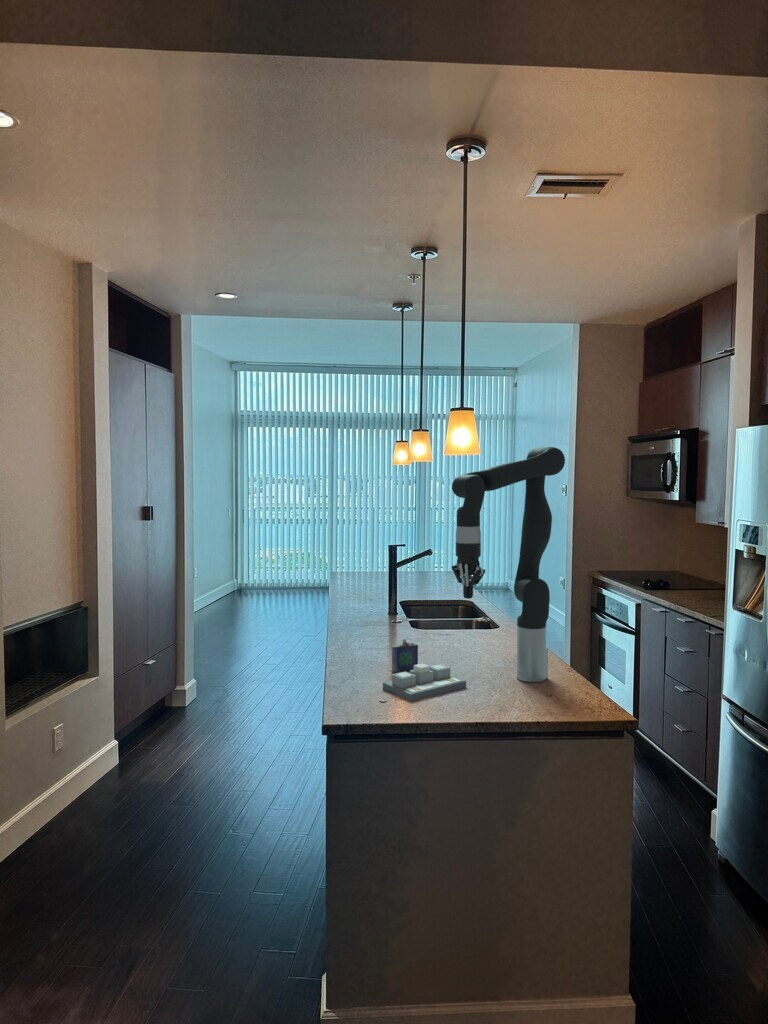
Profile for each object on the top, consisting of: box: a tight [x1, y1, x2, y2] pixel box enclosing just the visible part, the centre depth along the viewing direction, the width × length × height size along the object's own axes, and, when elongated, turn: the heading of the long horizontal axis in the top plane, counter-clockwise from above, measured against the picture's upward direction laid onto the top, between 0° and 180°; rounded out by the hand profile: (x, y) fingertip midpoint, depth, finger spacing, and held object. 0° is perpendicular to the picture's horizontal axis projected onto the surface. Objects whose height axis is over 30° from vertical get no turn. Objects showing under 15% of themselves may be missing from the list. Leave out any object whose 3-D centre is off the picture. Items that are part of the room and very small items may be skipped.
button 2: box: [430, 664, 448, 670], centre depth 214 cm, size 4×4×3 cm
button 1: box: [395, 672, 412, 678], centre depth 206 cm, size 4×4×3 cm
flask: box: [391, 639, 419, 674], centre depth 227 cm, size 9×3×11 cm, turn 109°
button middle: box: [414, 663, 431, 674], centre depth 210 cm, size 4×4×3 cm
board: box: [382, 663, 467, 702], centre depth 209 cm, size 22×14×5 cm, turn 126°
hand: (468, 598), depth 203 cm, fingers closed
